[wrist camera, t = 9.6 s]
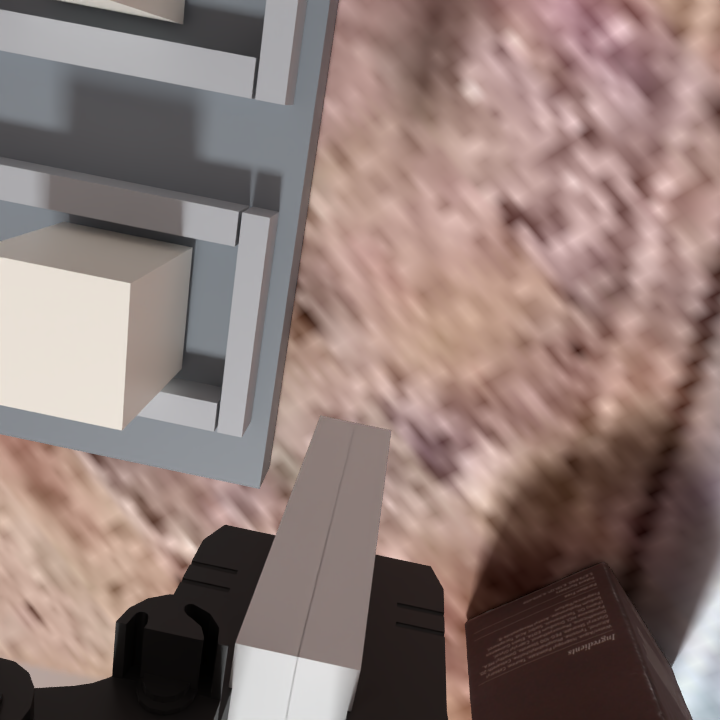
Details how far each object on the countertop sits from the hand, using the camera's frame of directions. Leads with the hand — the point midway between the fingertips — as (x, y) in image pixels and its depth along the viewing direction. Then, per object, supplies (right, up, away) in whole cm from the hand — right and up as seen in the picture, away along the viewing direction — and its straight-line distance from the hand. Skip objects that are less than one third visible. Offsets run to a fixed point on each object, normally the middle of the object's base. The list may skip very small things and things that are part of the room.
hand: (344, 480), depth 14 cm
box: (+8, -8, +12) cm, 17 cm away
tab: (-7, +5, +7) cm, 11 cm away
